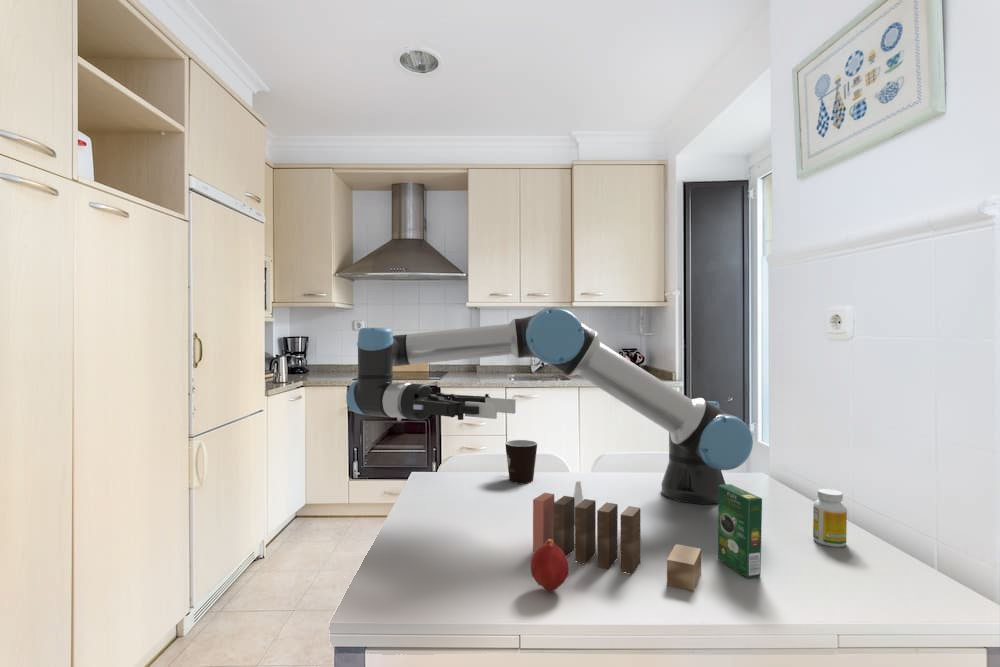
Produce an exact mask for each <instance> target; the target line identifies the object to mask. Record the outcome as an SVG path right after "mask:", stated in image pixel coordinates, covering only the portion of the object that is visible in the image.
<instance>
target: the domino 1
mask: <svg viewBox="0 0 1000 667" xmlns="http://www.w3.org/2000/svg"><path fill="white" fill-rule="evenodd" d="M554 502H555V493H550V492H543V493H541V494H539V495H538V496H537V497H535V498H533V499H532V553H533V552H536V550H537V549H538V548H539V547H541V546H542V545H544V544H545V543H546V541H547V540H548V539H551V540H553V514H554Z"/></svg>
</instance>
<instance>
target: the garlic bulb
mask: <svg viewBox="0 0 1000 667" xmlns="http://www.w3.org/2000/svg"><path fill="white" fill-rule="evenodd" d="M573 492H574V493H573V496H572V497H575V506H577V505H578V504H579V503H580V502H582V501H583V500H584V499H585V498H584V495H583V489H582V481H581V480H576V481H575V486H574V491H573Z"/></svg>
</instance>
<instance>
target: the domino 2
mask: <svg viewBox="0 0 1000 667" xmlns="http://www.w3.org/2000/svg"><path fill="white" fill-rule="evenodd" d="M553 542H554V544H555V545H557V546H558V547H559V548H560V549H561V550H562V551H563V552H564V554H565V555H566V556H567V555H568V554H569V555H570V554H572V553H573V551H575V497H573V496H568V495H563V496H562V497H560V498H558V499H557V500H556V501H554V514H553ZM569 555H568V556H569ZM568 556H567V557H568Z"/></svg>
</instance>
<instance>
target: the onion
mask: <svg viewBox="0 0 1000 667" xmlns="http://www.w3.org/2000/svg"><path fill="white" fill-rule="evenodd" d="M569 571H570V564H569V560H568V558H567V557H566V555H565V554H564V552H563V551H562V550H561V549H560V548H559V547H558V546H557V545H555V544H554V542H553V540H551V539H548V540H547V541H546V543H545V544H544V545H542V546H541V547H539V548H538V549H537V550H536V552H535V553H534V554H533V556H532V557H531V560H530V572H531V575H532V577H533V580H534V581H535V582H536V583H537V584H538V585H539V586H541V587H542V588H543V589H544V590H545V591H547V592H548V593H553V592H554V591H555V590H556V589H558V588H559V587H560V586H562V584H564V582H566V579H567V578H568V577H569V573H570V572H569Z"/></svg>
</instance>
